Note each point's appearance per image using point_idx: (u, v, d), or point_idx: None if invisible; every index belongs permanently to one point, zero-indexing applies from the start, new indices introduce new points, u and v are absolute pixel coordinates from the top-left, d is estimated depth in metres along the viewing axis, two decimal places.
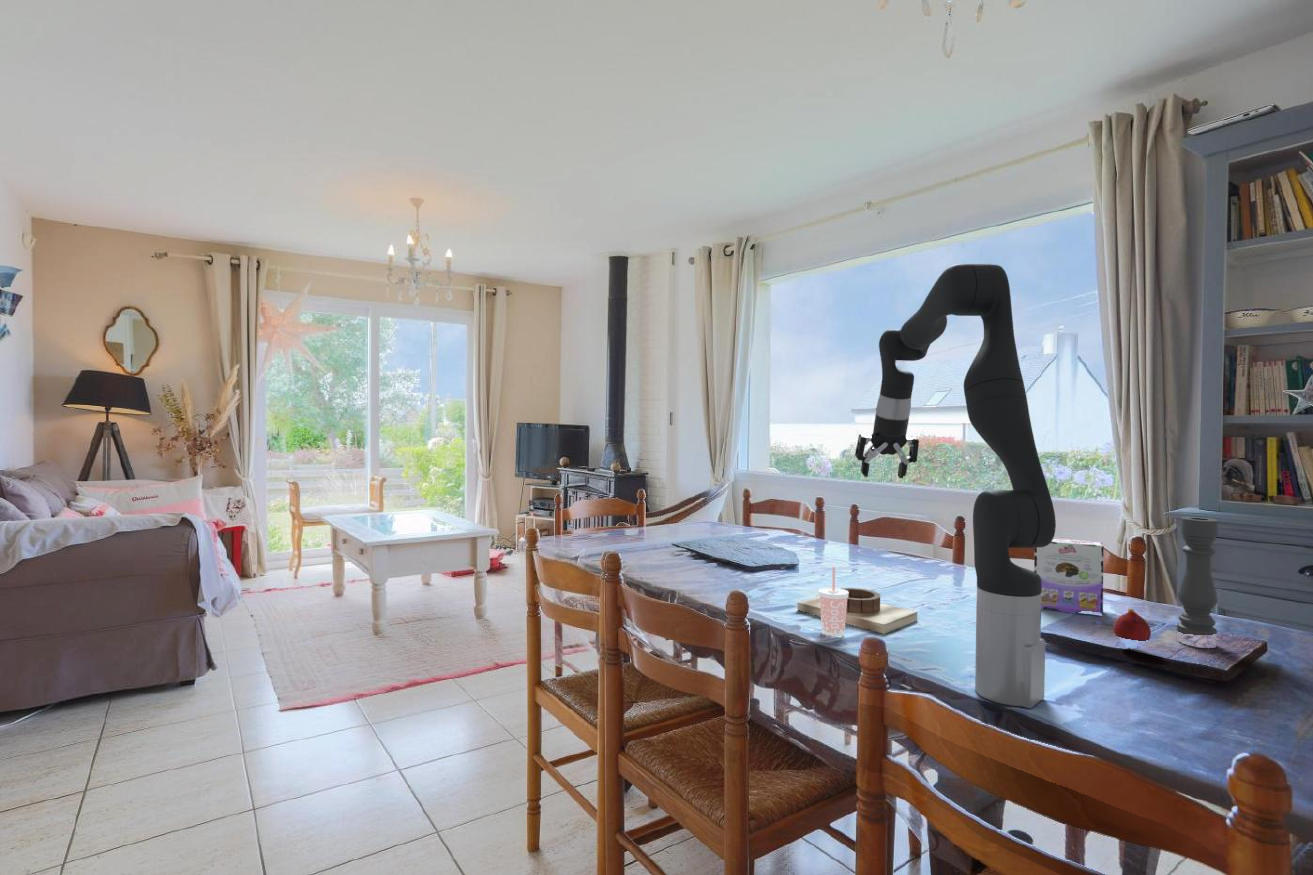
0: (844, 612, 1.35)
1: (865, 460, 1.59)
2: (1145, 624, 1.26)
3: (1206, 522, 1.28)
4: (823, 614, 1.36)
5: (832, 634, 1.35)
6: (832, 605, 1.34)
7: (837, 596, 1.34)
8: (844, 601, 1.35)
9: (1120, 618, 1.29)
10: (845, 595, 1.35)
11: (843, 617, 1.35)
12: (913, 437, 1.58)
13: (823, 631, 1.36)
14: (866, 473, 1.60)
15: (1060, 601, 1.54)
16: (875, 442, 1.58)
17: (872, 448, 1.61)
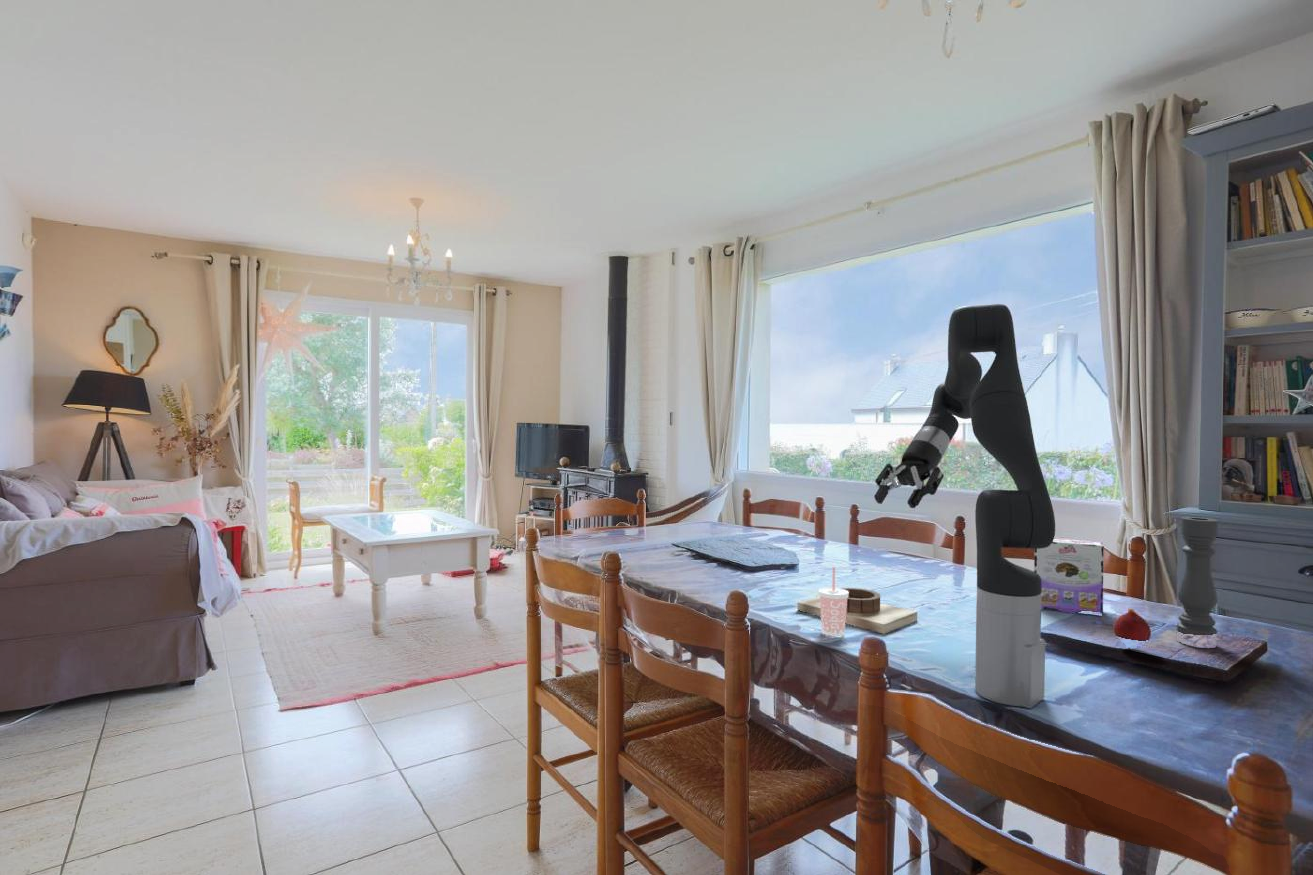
0: (844, 612, 1.35)
1: (881, 482, 1.50)
2: (1145, 624, 1.26)
3: (1206, 522, 1.28)
4: (823, 614, 1.36)
5: (832, 634, 1.35)
6: (832, 605, 1.34)
7: (837, 596, 1.34)
8: (844, 601, 1.35)
9: (1120, 618, 1.29)
10: (845, 595, 1.35)
11: (843, 617, 1.35)
12: None
13: (823, 631, 1.36)
14: (877, 494, 1.49)
15: (1060, 601, 1.54)
16: (897, 468, 1.51)
17: (897, 482, 1.51)
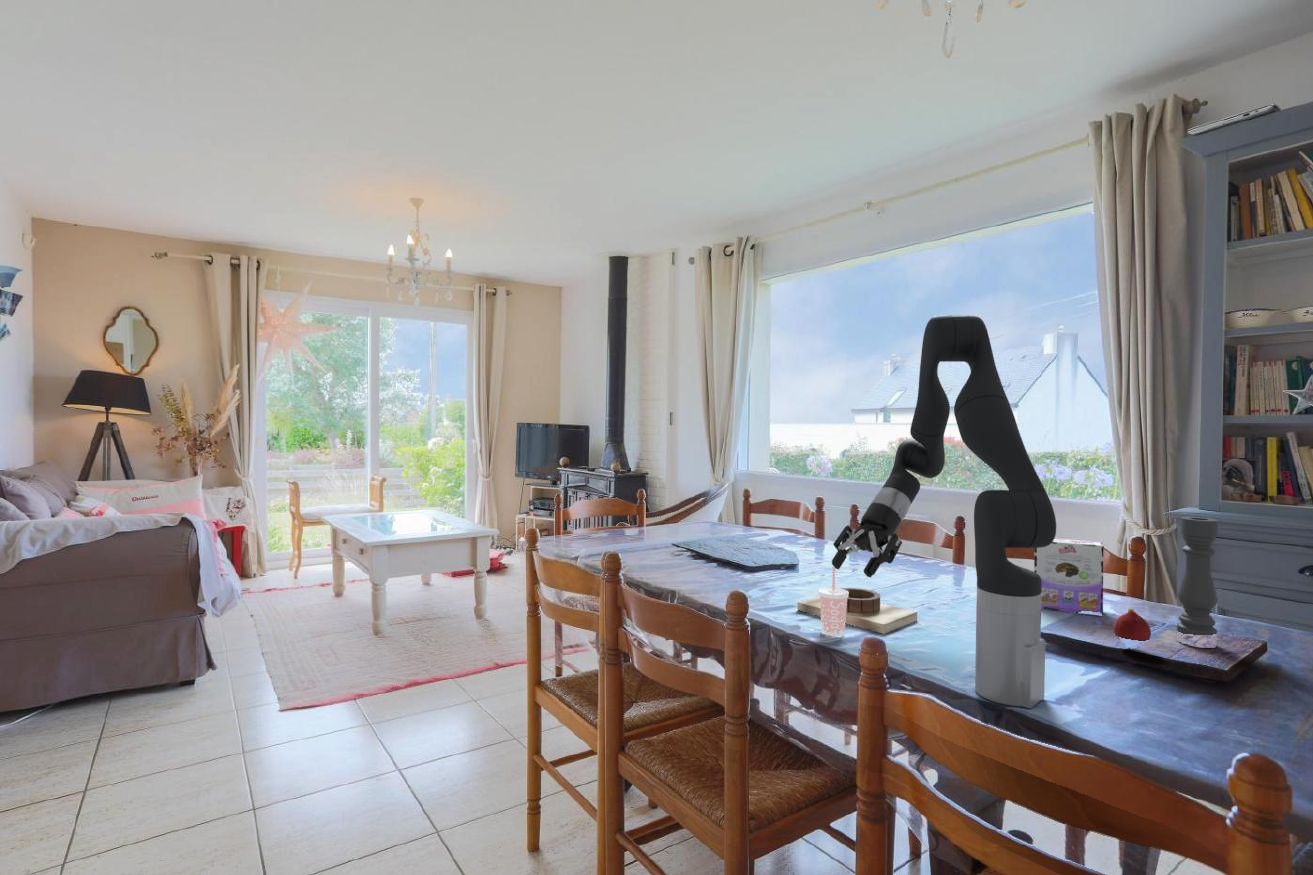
0: (844, 612, 1.35)
1: (839, 546, 1.45)
2: (1145, 624, 1.26)
3: (1206, 522, 1.29)
4: (823, 614, 1.36)
5: (832, 634, 1.35)
6: (832, 605, 1.34)
7: (837, 596, 1.34)
8: (844, 601, 1.35)
9: (1120, 618, 1.29)
10: (845, 595, 1.35)
11: (843, 617, 1.35)
12: None
13: (823, 631, 1.36)
14: (834, 559, 1.43)
15: (1060, 601, 1.54)
16: (856, 531, 1.45)
17: (856, 546, 1.45)
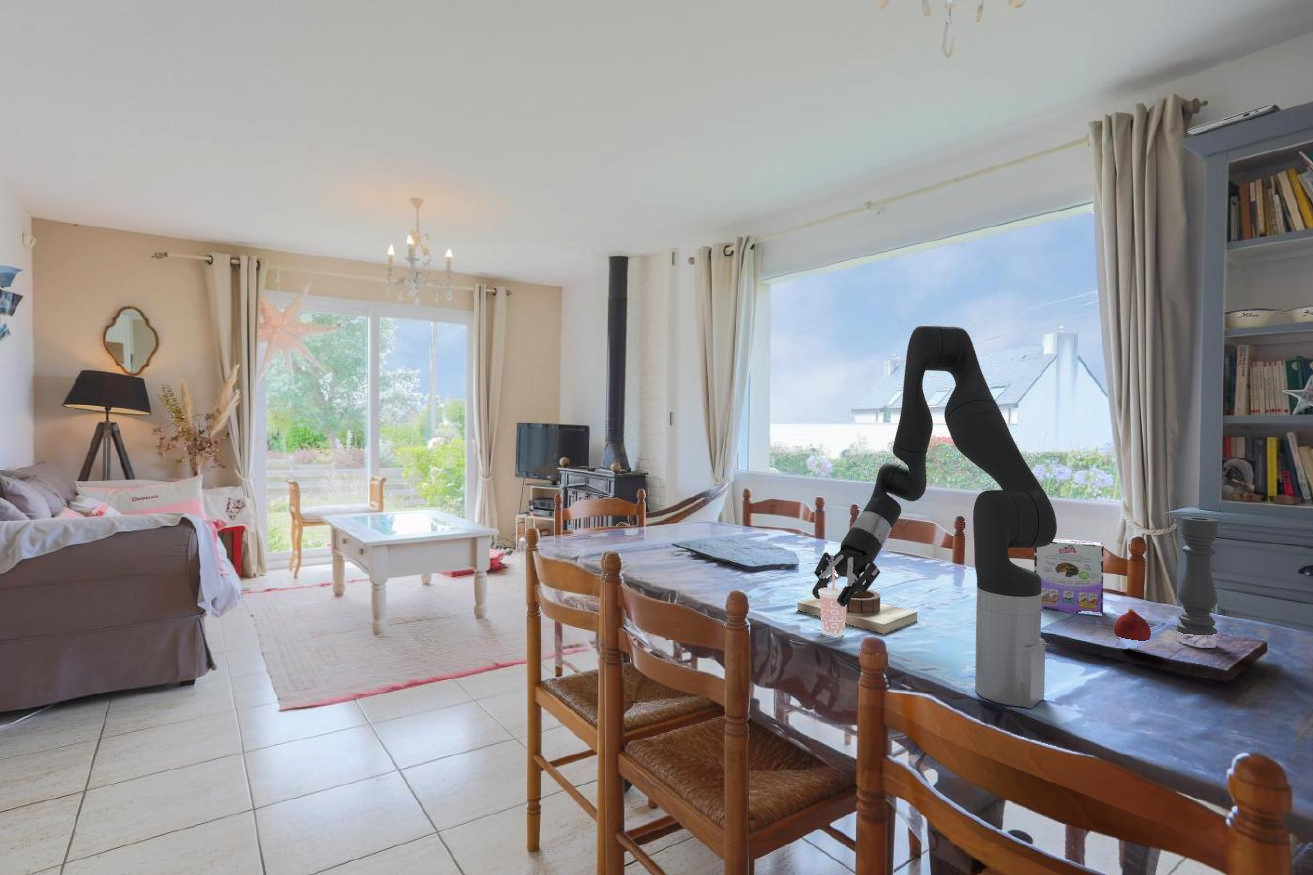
0: (844, 612, 1.35)
1: (820, 575, 1.41)
2: (1145, 624, 1.26)
3: (1206, 522, 1.29)
4: (823, 614, 1.36)
5: (832, 634, 1.35)
6: (832, 605, 1.34)
7: (837, 596, 1.34)
8: None
9: (1120, 618, 1.29)
10: None
11: (843, 617, 1.35)
12: None
13: (823, 631, 1.36)
14: (815, 589, 1.39)
15: (1060, 601, 1.54)
16: (836, 557, 1.42)
17: (836, 574, 1.41)
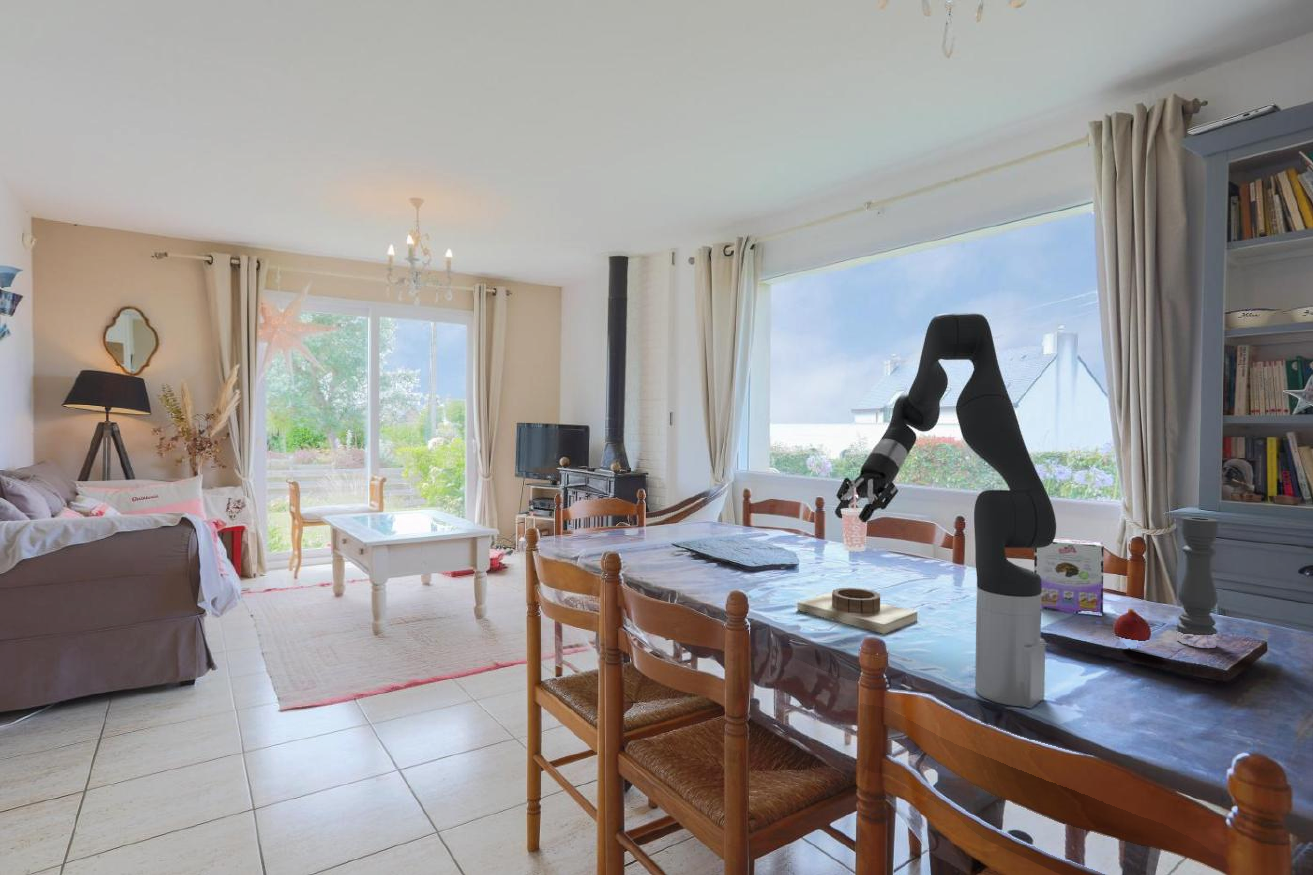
0: (865, 528, 1.47)
1: (842, 497, 1.52)
2: (1145, 624, 1.26)
3: (1206, 522, 1.28)
4: (845, 531, 1.48)
5: (854, 548, 1.47)
6: (854, 521, 1.46)
7: (858, 513, 1.46)
8: None
9: (1120, 618, 1.29)
10: None
11: (864, 533, 1.47)
12: None
13: (845, 546, 1.48)
14: (837, 509, 1.50)
15: (1060, 601, 1.54)
16: (856, 481, 1.53)
17: (857, 496, 1.53)
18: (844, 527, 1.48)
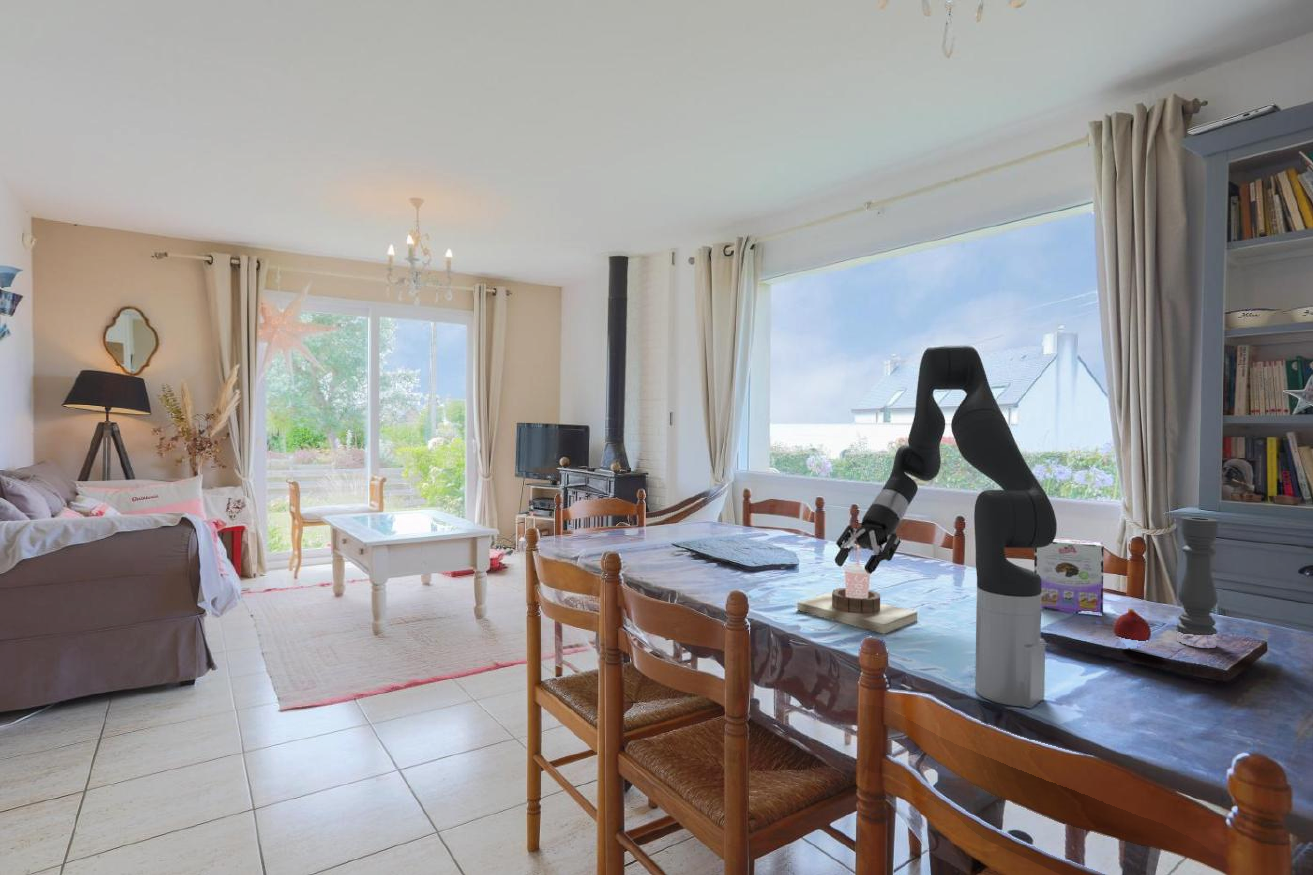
0: (867, 586, 1.48)
1: (841, 545, 1.54)
2: (1145, 624, 1.26)
3: (1206, 522, 1.29)
4: (848, 588, 1.49)
5: None
6: (857, 579, 1.47)
7: (861, 571, 1.47)
8: (867, 576, 1.48)
9: (1120, 618, 1.29)
10: None
11: (866, 591, 1.48)
12: None
13: None
14: (837, 557, 1.53)
15: (1060, 601, 1.54)
16: (857, 531, 1.55)
17: None
18: (847, 584, 1.49)
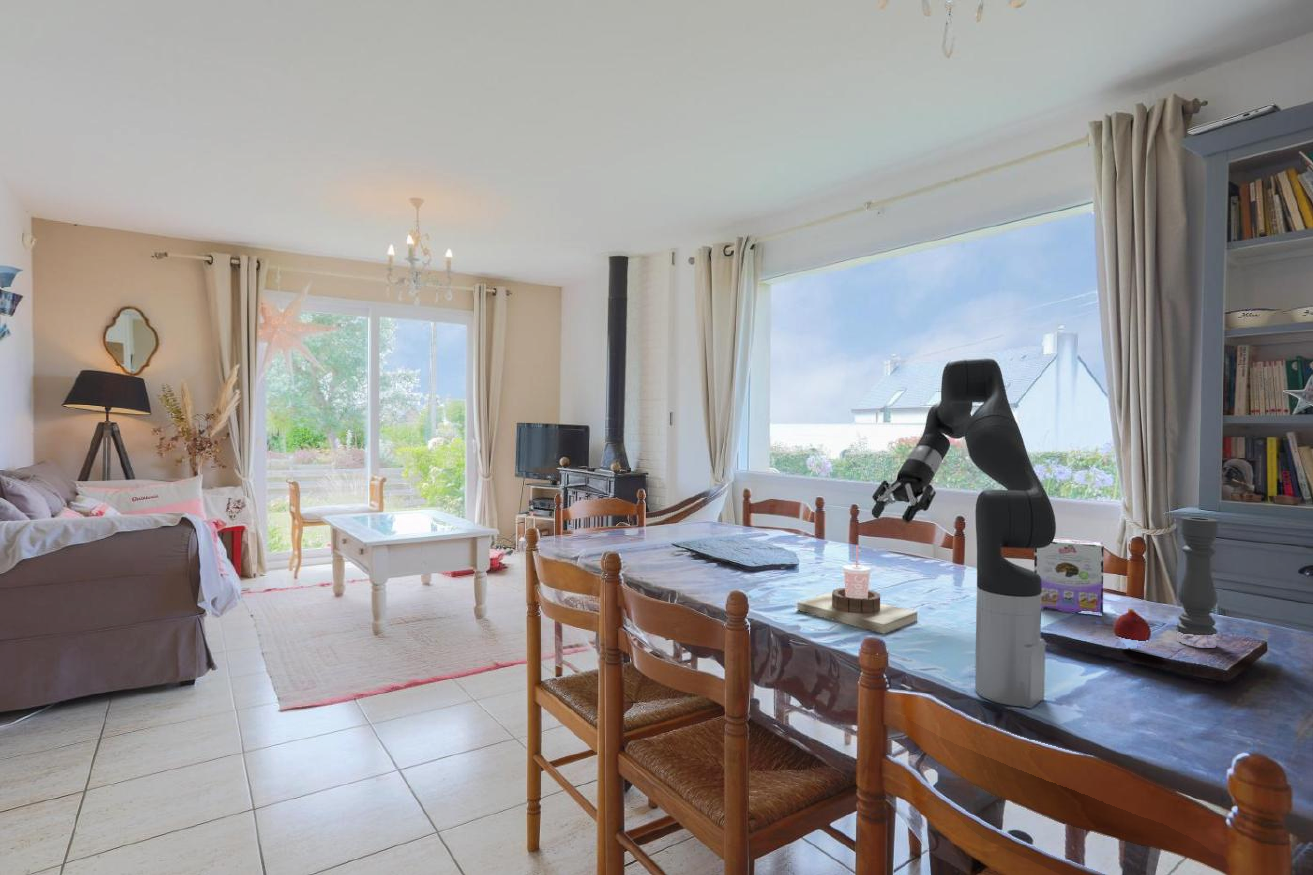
0: (867, 586, 1.48)
1: (878, 498, 1.61)
2: (1145, 624, 1.26)
3: (1206, 522, 1.29)
4: (847, 588, 1.49)
5: None
6: (856, 580, 1.47)
7: (861, 571, 1.47)
8: (867, 576, 1.48)
9: (1120, 618, 1.29)
10: (868, 571, 1.48)
11: (866, 591, 1.48)
12: None
13: None
14: (874, 509, 1.60)
15: (1060, 601, 1.54)
16: (893, 485, 1.62)
17: (893, 498, 1.61)
18: (846, 585, 1.49)
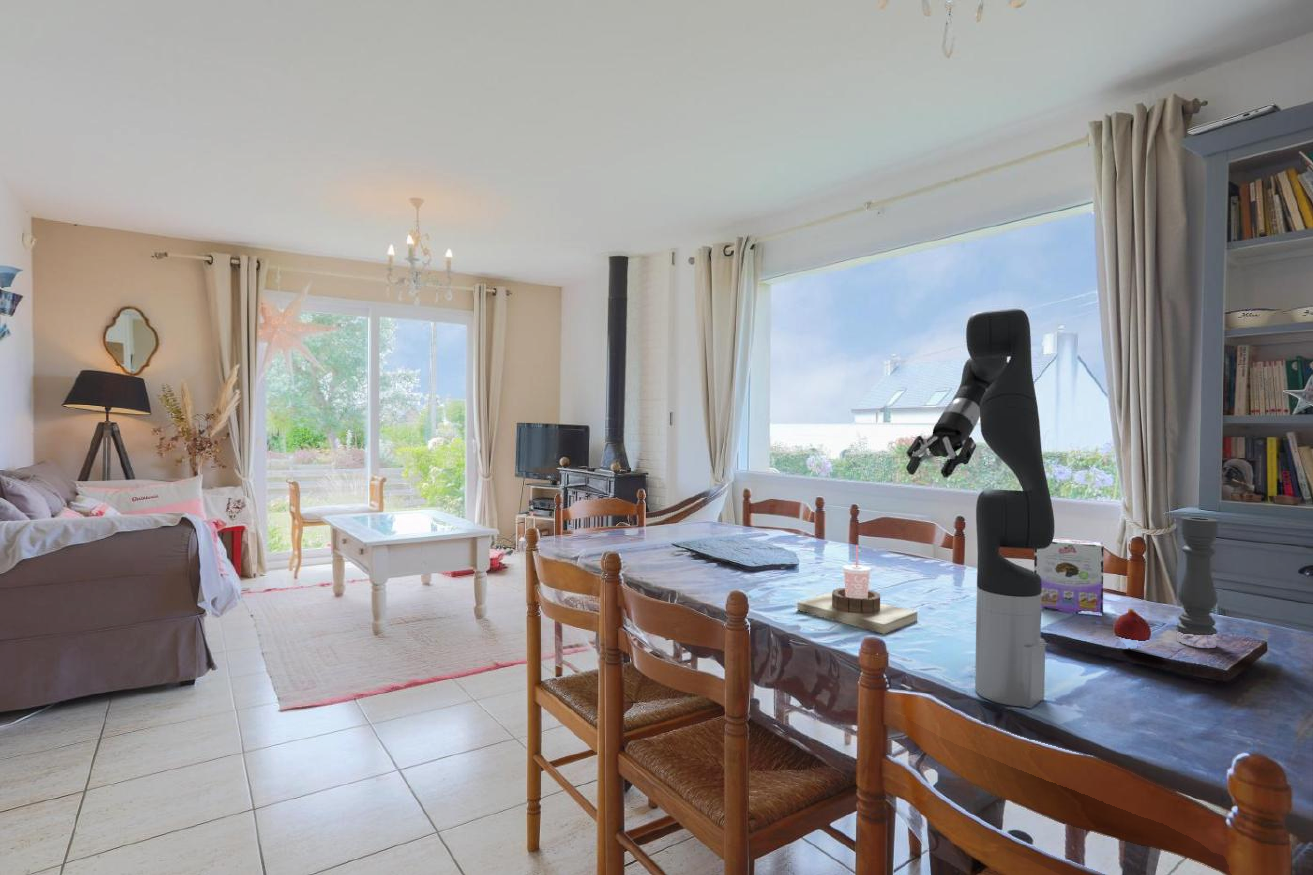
0: (867, 586, 1.48)
1: (912, 454, 1.51)
2: (1145, 624, 1.26)
3: (1206, 522, 1.28)
4: (847, 588, 1.49)
5: None
6: (856, 580, 1.47)
7: (861, 571, 1.47)
8: (867, 576, 1.48)
9: (1120, 618, 1.29)
10: (868, 571, 1.48)
11: (866, 591, 1.48)
12: None
13: None
14: (909, 465, 1.50)
15: (1060, 601, 1.54)
16: (929, 440, 1.52)
17: (929, 454, 1.52)
18: (846, 585, 1.49)
